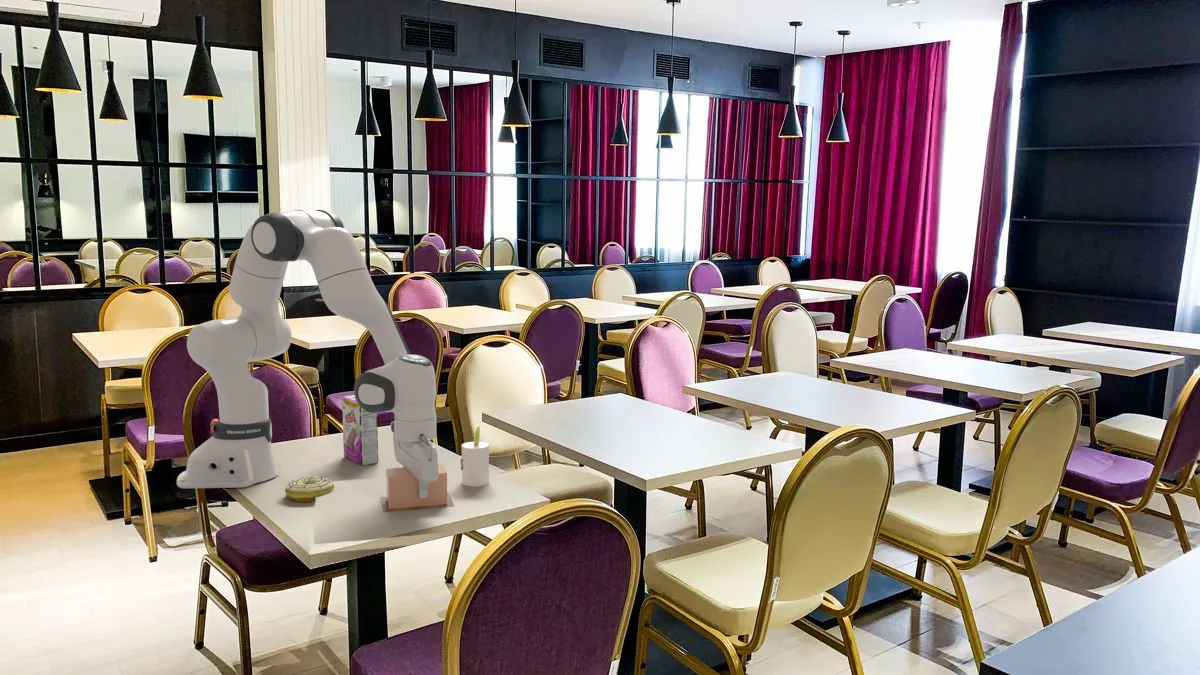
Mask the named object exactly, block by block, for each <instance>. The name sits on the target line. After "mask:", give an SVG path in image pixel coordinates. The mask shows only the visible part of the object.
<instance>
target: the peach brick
mask: <svg viewBox="0 0 1200 675" xmlns="http://www.w3.org/2000/svg"><path fill="white" fill-rule="evenodd" d="M385 470H386V472H385V473H386V474H385V476H386V478H385V479H386V497H387V502H388V507H389V509H394V508H407V507H419V506H432V505H444V504H447V492H448V472H447V470H446V468H445V465H444V464H438V471H439V476H438V480H437V481H436V482H430V484H429V488H428V496H427V497H426V498H420V497H419V496H418V489H419V482H418V479H417V478H416V477H415V476H414V475H413V474H411V473H410V472H409V471H408V470H407V469H406V468H405V467H403V466H402V467H391V468H386V469H385Z"/></svg>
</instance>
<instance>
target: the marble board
mask: <svg viewBox="0 0 1200 675" xmlns="http://www.w3.org/2000/svg"><path fill="white" fill-rule="evenodd" d="M379 499H380V503H381V508H382V513H392V512H403V511H414V510H415V511H417V510H425V509H440V508H451V507H455V505H454V502H453V500H452V497H451V495H450V493H449V492H448V491H447V504H444V505H432V506H419V507H407V508H394V509H389V507H388V502H387V496H382V497H380V498H379Z"/></svg>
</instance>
